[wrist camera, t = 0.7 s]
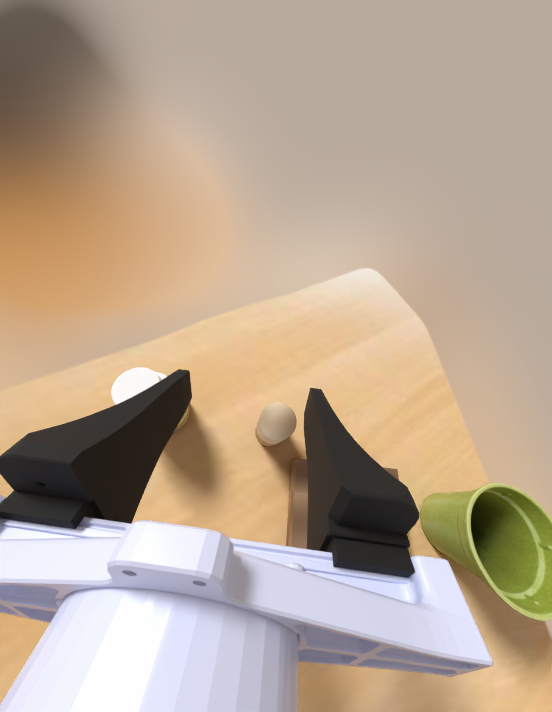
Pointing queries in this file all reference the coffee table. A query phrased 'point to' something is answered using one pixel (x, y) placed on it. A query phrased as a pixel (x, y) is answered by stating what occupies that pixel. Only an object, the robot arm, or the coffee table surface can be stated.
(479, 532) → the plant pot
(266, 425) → the pin
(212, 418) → the coffee table surface
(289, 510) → the socket block
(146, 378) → the supplement bottle
